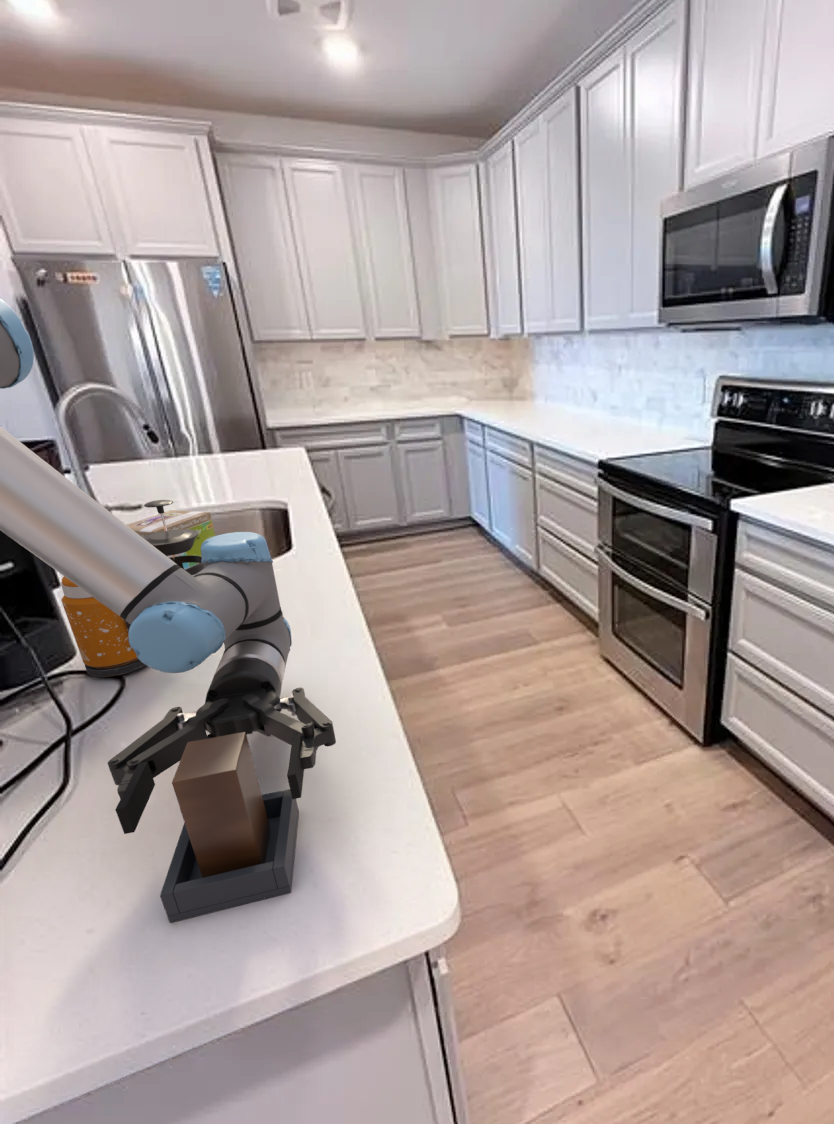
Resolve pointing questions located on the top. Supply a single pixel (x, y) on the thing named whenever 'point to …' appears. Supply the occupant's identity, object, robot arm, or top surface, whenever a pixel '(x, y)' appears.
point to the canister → (98, 634)
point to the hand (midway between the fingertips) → (212, 803)
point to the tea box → (179, 521)
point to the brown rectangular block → (222, 804)
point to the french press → (174, 541)
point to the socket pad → (213, 893)
